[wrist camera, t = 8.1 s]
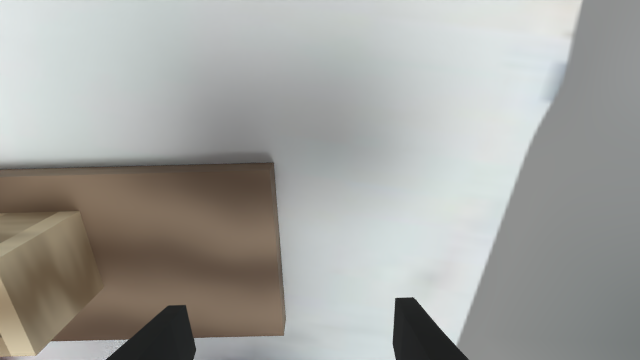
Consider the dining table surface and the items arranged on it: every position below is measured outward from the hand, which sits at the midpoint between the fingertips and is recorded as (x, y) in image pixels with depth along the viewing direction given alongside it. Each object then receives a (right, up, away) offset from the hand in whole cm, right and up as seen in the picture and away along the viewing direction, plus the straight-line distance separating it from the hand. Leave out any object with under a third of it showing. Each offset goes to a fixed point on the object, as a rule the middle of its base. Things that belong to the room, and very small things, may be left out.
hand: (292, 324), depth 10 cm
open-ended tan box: (-16, +1, +8) cm, 18 cm away
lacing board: (-11, 0, +10) cm, 15 cm away
